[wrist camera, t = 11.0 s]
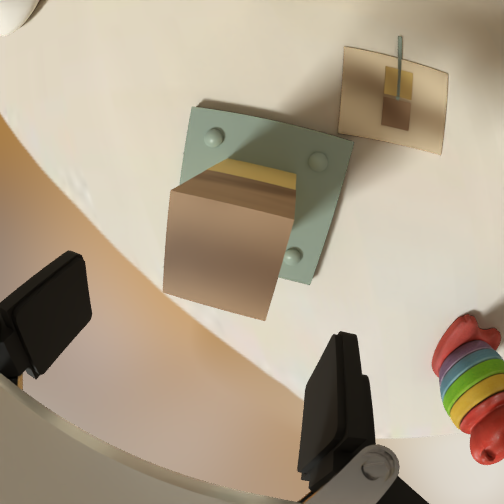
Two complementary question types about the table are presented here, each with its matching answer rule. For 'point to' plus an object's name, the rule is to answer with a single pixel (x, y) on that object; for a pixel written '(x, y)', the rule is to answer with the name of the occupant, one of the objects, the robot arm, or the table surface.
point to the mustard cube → (256, 172)
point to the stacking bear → (473, 385)
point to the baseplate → (282, 158)
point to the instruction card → (392, 100)
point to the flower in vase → (14, 14)
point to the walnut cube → (227, 241)
